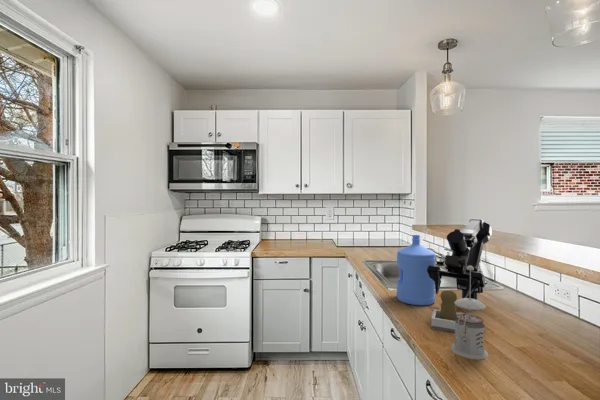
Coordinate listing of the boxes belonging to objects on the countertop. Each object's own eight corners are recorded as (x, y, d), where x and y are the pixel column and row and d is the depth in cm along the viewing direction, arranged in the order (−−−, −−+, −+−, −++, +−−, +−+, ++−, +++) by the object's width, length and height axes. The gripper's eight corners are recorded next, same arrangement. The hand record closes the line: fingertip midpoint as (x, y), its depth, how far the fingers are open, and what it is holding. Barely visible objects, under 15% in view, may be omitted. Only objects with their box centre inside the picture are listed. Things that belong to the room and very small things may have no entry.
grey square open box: (433, 318, 120) (433, 309, 120) (464, 323, 116) (464, 313, 116) (431, 328, 112) (431, 318, 111) (464, 334, 107) (464, 323, 107)
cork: (451, 319, 117) (452, 288, 117) (461, 326, 111) (461, 293, 111) (435, 319, 117) (435, 289, 116) (444, 326, 111) (444, 294, 110)
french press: (493, 351, 96) (494, 265, 95) (480, 365, 87) (481, 272, 87) (458, 340, 103) (459, 260, 102) (442, 352, 94) (443, 266, 94)
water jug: (440, 299, 142) (441, 235, 141) (425, 309, 130) (426, 238, 130) (406, 292, 153) (407, 232, 152) (390, 300, 141) (390, 235, 141)
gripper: (428, 243, 125) (417, 278, 116) (483, 249, 112) (475, 288, 104) (435, 261, 131) (425, 295, 123) (488, 268, 119) (481, 306, 111)
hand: (450, 296), depth 115 cm, fingers open, 9 cm apart
